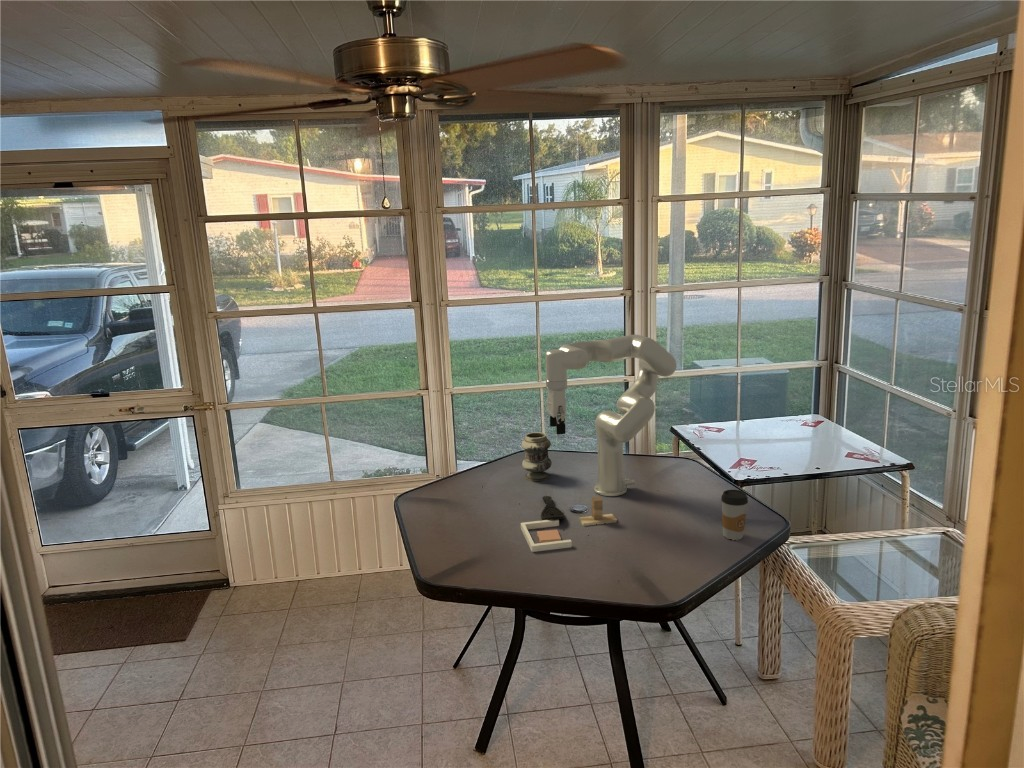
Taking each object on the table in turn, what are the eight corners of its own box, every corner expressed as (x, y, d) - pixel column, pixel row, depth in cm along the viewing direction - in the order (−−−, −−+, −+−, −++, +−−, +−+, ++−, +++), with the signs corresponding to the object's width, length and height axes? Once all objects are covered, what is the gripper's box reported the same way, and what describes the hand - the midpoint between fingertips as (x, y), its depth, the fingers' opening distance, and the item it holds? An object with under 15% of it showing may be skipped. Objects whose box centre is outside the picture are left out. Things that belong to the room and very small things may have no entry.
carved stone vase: (537, 469, 298) (536, 428, 294) (558, 476, 290) (557, 434, 285) (516, 476, 290) (515, 435, 286) (537, 484, 282) (535, 441, 278)
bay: (557, 524, 246) (557, 518, 245) (571, 547, 228) (571, 541, 228) (520, 528, 243) (520, 522, 243) (531, 552, 226) (531, 546, 226)
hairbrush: (556, 490, 268) (566, 513, 243) (556, 499, 268) (567, 523, 244) (534, 491, 267) (543, 515, 243) (535, 501, 268) (543, 525, 243)
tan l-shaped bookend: (579, 520, 248) (579, 498, 246) (612, 516, 250) (612, 495, 248) (583, 526, 243) (583, 504, 242) (616, 522, 246) (616, 500, 244)
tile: (557, 533, 240) (557, 529, 239) (561, 542, 233) (561, 538, 232) (536, 535, 239) (536, 531, 238) (540, 544, 232) (540, 540, 232)
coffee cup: (732, 544, 226) (734, 500, 223) (714, 534, 234) (715, 492, 230) (751, 538, 230) (754, 495, 226) (733, 528, 237) (734, 487, 234)
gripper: (541, 379, 260) (542, 424, 265) (552, 390, 244) (553, 438, 248) (560, 378, 262) (561, 422, 266) (573, 389, 245) (574, 436, 249)
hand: (557, 430), depth 257 cm, fingers open, 9 cm apart
